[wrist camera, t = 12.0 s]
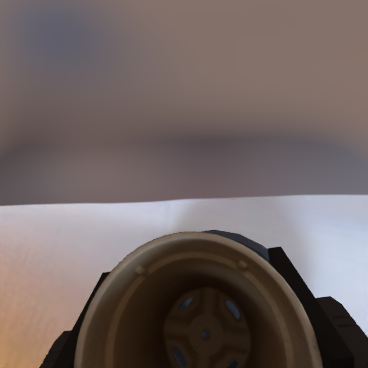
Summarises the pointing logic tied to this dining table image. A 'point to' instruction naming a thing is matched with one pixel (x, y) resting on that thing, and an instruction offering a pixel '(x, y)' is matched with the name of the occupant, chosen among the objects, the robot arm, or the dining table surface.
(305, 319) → the flower pot
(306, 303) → the robot arm
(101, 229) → the dining table surface
